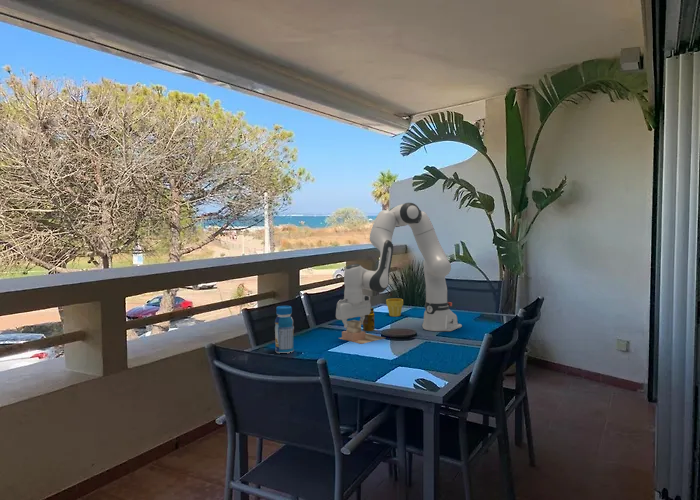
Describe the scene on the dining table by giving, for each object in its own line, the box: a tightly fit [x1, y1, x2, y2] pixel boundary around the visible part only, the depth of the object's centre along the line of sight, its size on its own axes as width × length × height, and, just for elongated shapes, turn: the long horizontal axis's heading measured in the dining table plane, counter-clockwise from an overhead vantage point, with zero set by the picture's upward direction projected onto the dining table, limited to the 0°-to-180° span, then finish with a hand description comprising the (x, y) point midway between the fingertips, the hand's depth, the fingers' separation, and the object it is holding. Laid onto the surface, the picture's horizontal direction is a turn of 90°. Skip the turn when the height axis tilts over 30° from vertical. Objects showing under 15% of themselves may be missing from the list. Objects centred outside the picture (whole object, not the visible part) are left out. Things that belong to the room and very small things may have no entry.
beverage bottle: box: [274, 305, 295, 354], centre depth 217 cm, size 8×8×20 cm
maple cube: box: [346, 319, 362, 333], centre depth 238 cm, size 5×5×5 cm
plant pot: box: [385, 298, 404, 317], centre depth 298 cm, size 10×10×10 cm
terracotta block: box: [341, 330, 366, 342], centre depth 238 cm, size 8×8×4 cm
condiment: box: [362, 307, 378, 332], centre depth 257 cm, size 7×8×12 cm
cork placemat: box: [339, 332, 386, 345], centre depth 240 cm, size 17×16×1 cm
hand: (353, 326), depth 238 cm, fingers open, 8 cm apart
